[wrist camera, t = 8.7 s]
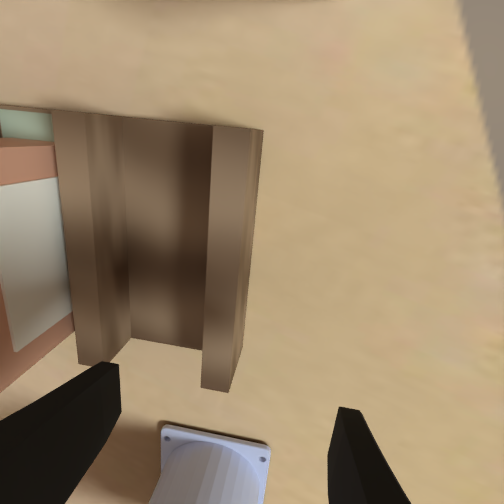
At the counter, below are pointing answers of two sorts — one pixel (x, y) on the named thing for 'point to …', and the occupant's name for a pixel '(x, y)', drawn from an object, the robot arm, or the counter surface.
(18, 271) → the pink rectangular block
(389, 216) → the counter surface
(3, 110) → the rack
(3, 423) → the robot arm
